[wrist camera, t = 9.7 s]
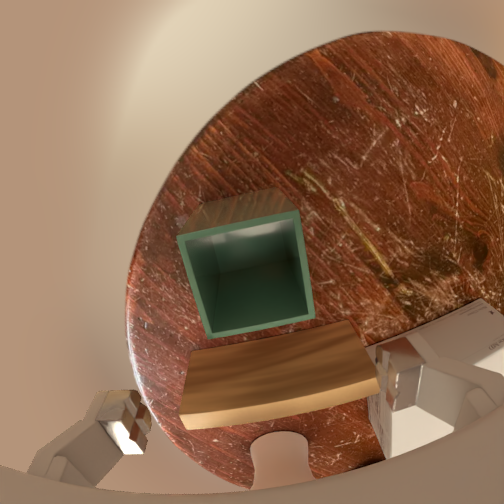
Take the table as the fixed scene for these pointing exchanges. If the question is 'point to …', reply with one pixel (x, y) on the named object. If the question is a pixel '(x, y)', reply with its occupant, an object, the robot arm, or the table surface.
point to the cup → (280, 460)
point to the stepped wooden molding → (276, 377)
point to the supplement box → (444, 344)
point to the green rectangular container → (247, 263)
